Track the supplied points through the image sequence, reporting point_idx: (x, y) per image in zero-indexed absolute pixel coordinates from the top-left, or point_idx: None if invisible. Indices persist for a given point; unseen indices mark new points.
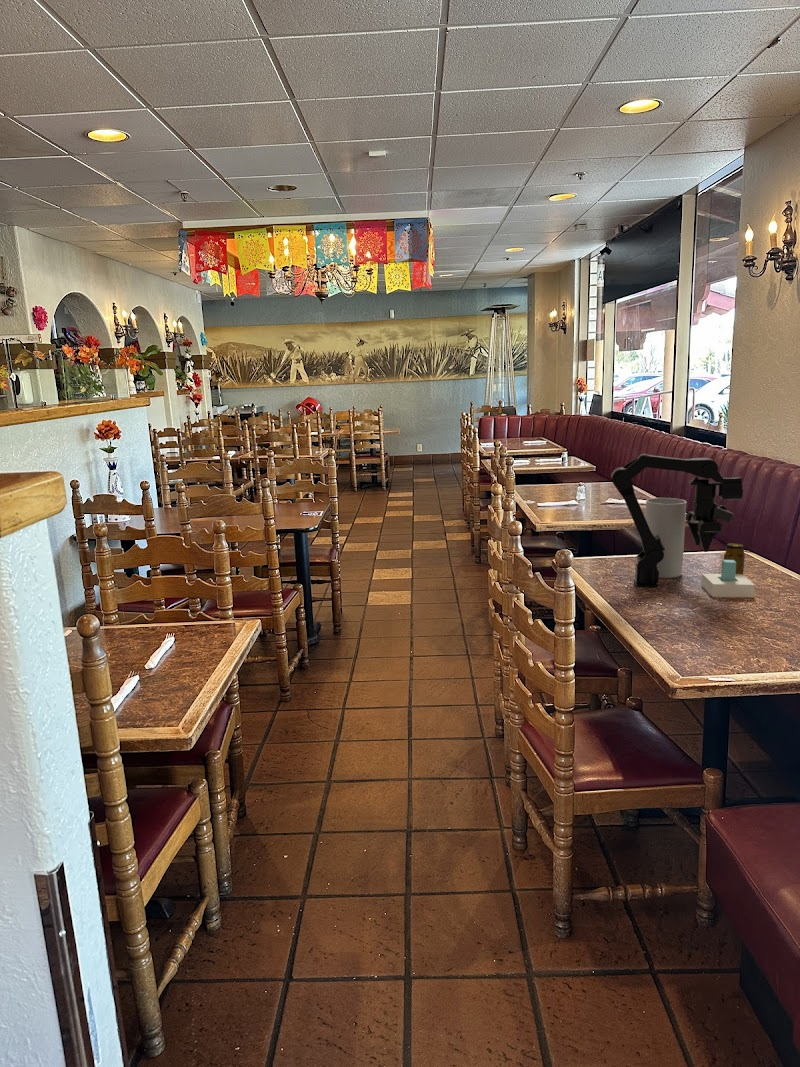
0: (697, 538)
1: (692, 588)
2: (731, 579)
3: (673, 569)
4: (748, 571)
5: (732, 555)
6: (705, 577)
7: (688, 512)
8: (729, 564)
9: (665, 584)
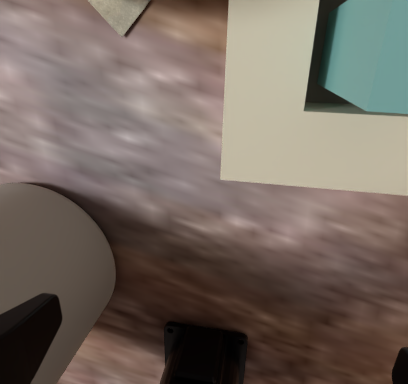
0: (5, 378)
1: (272, 212)
2: None
3: (90, 263)
4: None
5: None
6: (298, 184)
7: None
8: None
9: (205, 293)
